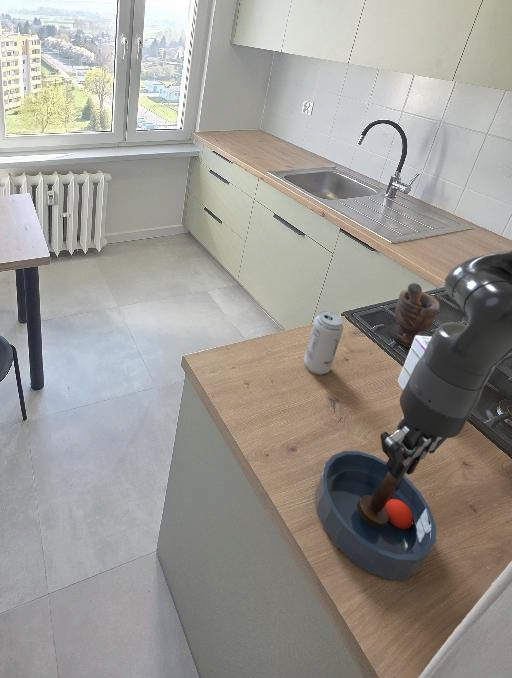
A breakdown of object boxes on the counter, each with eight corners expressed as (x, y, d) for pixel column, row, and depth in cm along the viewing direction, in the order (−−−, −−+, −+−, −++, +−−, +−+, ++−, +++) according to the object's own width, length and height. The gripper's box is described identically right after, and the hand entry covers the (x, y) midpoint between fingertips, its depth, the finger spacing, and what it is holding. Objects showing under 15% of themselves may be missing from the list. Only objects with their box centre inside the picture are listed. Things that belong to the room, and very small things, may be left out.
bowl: (364, 460, 80) (372, 440, 78) (447, 558, 66) (461, 536, 64) (294, 487, 75) (301, 466, 73) (369, 600, 61) (381, 578, 59)
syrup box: (410, 402, 93) (432, 353, 87) (395, 381, 99) (415, 333, 93) (436, 404, 93) (460, 355, 87) (420, 382, 98) (441, 335, 93)
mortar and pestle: (420, 362, 104) (448, 298, 96) (381, 346, 109) (405, 283, 101) (424, 337, 113) (450, 275, 105) (388, 322, 117) (410, 263, 109)
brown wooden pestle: (368, 496, 73) (406, 433, 66) (391, 523, 69) (433, 459, 63) (350, 504, 71) (388, 440, 65) (373, 533, 67) (415, 467, 61)
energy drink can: (327, 380, 98) (343, 331, 92) (300, 369, 101) (314, 320, 95) (331, 364, 103) (346, 315, 96) (305, 353, 105) (319, 306, 99)
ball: (395, 510, 72) (416, 505, 70) (399, 536, 69) (421, 532, 67) (377, 496, 72) (397, 491, 70) (380, 521, 69) (401, 517, 67)
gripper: (431, 429, 53) (386, 510, 60) (500, 403, 58) (451, 481, 65) (381, 382, 59) (346, 460, 67) (447, 362, 64) (408, 437, 71)
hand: (398, 470), depth 66 cm, fingers closed on brown wooden pestle, 2 cm apart
